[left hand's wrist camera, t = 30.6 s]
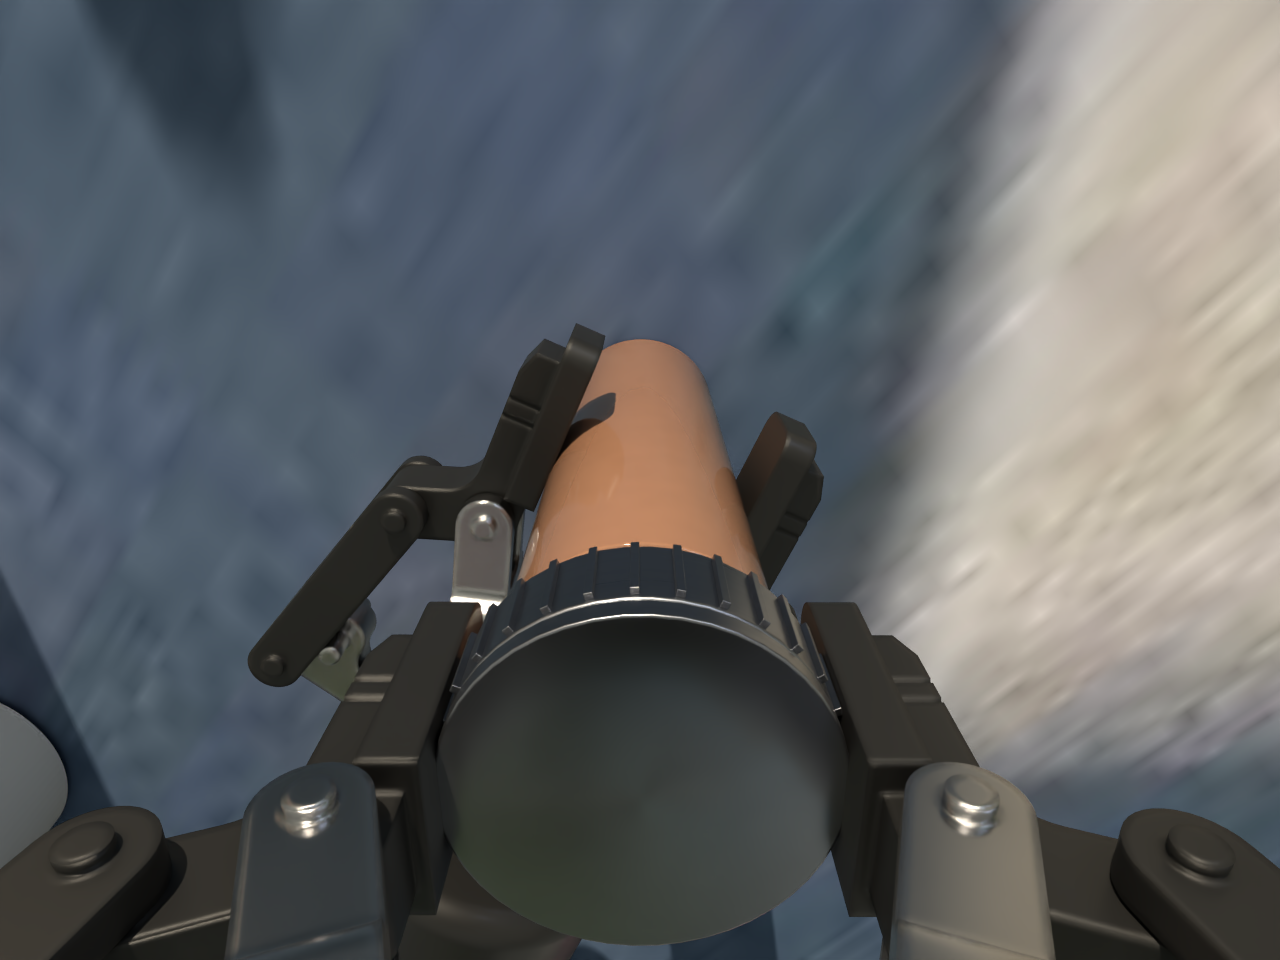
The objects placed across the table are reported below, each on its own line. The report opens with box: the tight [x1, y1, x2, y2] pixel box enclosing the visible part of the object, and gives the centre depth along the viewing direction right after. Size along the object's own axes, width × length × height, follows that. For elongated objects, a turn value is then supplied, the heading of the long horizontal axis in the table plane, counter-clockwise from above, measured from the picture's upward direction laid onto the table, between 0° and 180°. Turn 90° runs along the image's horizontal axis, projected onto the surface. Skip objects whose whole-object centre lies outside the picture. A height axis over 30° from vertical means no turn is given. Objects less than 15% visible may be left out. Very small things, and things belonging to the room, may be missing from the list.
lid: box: [436, 542, 849, 946], centre depth 10 cm, size 5×5×2 cm
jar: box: [517, 339, 768, 589], centre depth 18 cm, size 4×4×15 cm
